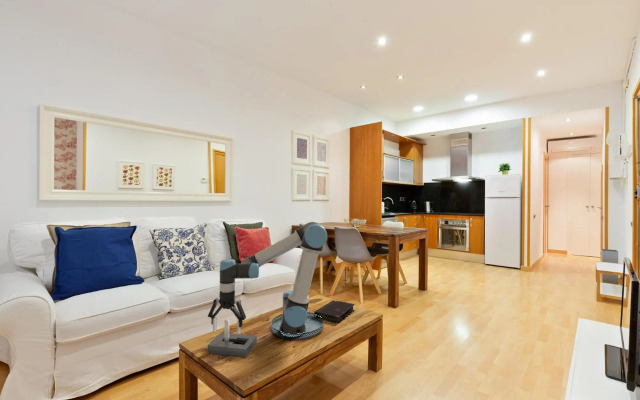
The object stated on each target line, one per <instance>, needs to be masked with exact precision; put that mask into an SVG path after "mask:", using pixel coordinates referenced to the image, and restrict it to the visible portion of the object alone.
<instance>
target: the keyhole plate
mask: <svg viewBox="0 0 640 400" xmlns="http://www.w3.org/2000/svg"><path fill="white" fill-rule="evenodd" d="M257 337H258V335H251V334H250V335H249V334H241V333H239V334H237V333H230V332H229V342H227V341H224V332H223V331H222V332H220V333H219V334H218V335H217V336H216V337H215V338H213V340H211V341H210V342H209V343H207V344H208V345H207V354H210V353H213V354H212V355H220V356H228V357H229V356H230V357H240V358H244V359H245V358H247V357H248V355H249V354H250V353H251V351H252V350H253V349H254V348H255V347H256V345H257V343H258V342H257V341H258V338H257Z"/></svg>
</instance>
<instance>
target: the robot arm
mask: <svg viewBox="0 0 640 400" xmlns="http://www.w3.org/2000/svg"><path fill="white" fill-rule="evenodd" d="M327 240H328V232H327V230H326V229H325V227H324V226H323V225H322V224H320V223H318V222H315V221H310V222H306V223H305V224H304V225H302V226H300V227H299V228H297V229H295V230H294V233H292V234H290V235H288V236H286V237H284V238H282V239H280V240H278V241H277V242H275V243H273V244H271V245H270V246H268V247H266V248H264V249H262V250H260V251H258V252H256V253H255V254H253V255H251V256H247V257H245V258H244V259H243V261H242V263H237V262H236V260H235V259H231V258H229V259H228V258H225V259H222V260H221V261H220V262H219V294H218V295H219V296H218V297H219V298H214V299H213V302H212V306H211V307H210V310H209V312H208V315H207V317H208V318H209V319H210V320H211V321H210V322H211V323H210V324H211V325H212V332H213V333H215V332H216V331H217V330H218V326H217V325H218V317H217V315H218V314H219V313H220V311H221V310H222V309H223V310H226V309H227V310H230V311H232V313H233V315H234V316H235V318H236V319H237V321H236V334H241V331H242V330H241V329H242V327H243V321H245V320H246V319H247V316H246V313H245V311H244V309H243V308H244V307H243V306H242V300H241V299H238V300H236V297H235V296H236V290H235V289H236V279H237V280H238V279H240V280H241V279H243V280H244V279H257V278H259V275H260V267H263V266H264V265H266V264H268V263H270V262H272V261H273V260H275V259H277V258H279V257H281V256H282V255H284V254H286V253H288V252H290V251H291V250H292V251H293V249H296V248H297V247H299V246H300V247H301V249H302V251H301V256H300V259H299V263H298V267H297V271H296V275H295V278H294V279H295V280H294V283H293V288H292V290H288V291H284V292H283V294H282V317H281V318H282V319H281V322H280V325H279V329H278V331H279V330H280V331H282V332H284V333H290V334H297V333H303V332H305V331H307V330H306V329H307V328H306V321H307V320H308V315H309V314H308V309H309V308H308V307H309V304H310V299H309V298H308V296H309V293H310V290H311V284H312V280H313V277H314V272H315V269H316V264H317V261H318V258H319V256H318V255H319V254H321V253H322V252H323V248H324V245H325V244H326V242H327ZM218 303H219V306H217V305H218ZM305 333H306V332H305Z"/></svg>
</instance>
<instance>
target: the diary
mask: <svg viewBox="0 0 640 400" xmlns="http://www.w3.org/2000/svg"><path fill="white" fill-rule="evenodd" d="M355 305H356V304H355V303H351V302H346V301H341V300H335V299H334V300H333V299H332V300H331V301H330V302H328V303H326V304H324V305H323V306H322V307H319V308H318V309H317V310H314V312H313V315H314V314H317V315H319V316H321V317H322V318H323V319H322V320H326V321H328V322H331V323H333V324H339V323H342V322H343V321H344V320H345V319H346V318H348V317H349V315H350V314H353V313H354V312H355V309H354V306H355Z"/></svg>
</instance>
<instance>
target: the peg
mask: <svg viewBox="0 0 640 400" xmlns="http://www.w3.org/2000/svg"><path fill="white" fill-rule="evenodd" d="M223 323H224V327H223V328H224V330H223V331H224V332H223V333H224V341H227V342H229V333H230V319H224V321H223Z"/></svg>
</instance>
